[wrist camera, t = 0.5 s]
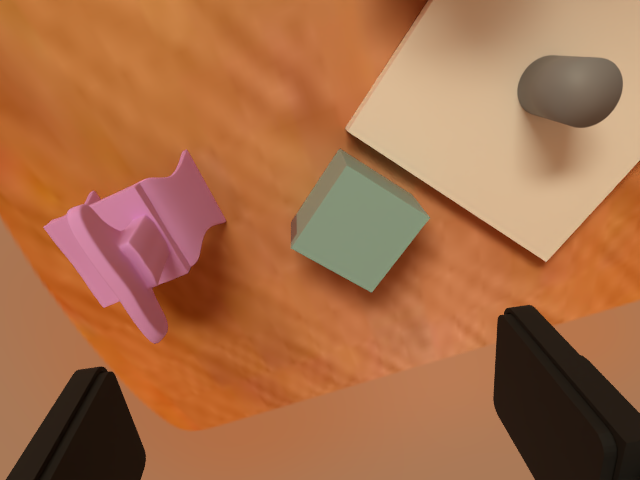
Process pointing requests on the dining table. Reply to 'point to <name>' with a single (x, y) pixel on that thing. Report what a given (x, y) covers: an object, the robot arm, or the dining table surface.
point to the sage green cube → (356, 222)
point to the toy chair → (139, 240)
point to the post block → (513, 109)
